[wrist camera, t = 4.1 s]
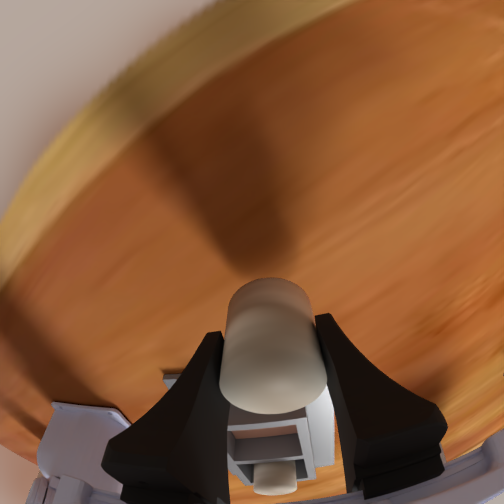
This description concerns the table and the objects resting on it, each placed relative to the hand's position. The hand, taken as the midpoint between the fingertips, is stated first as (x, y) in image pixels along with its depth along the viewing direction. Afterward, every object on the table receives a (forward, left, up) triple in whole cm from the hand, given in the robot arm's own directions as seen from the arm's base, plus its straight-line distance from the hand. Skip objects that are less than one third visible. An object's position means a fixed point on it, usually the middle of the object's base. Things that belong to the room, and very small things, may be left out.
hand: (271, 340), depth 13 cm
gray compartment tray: (-3, -16, -4) cm, 17 cm away
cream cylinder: (0, 0, -2) cm, 2 cm away
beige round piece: (-3, -20, -4) cm, 20 cm away
